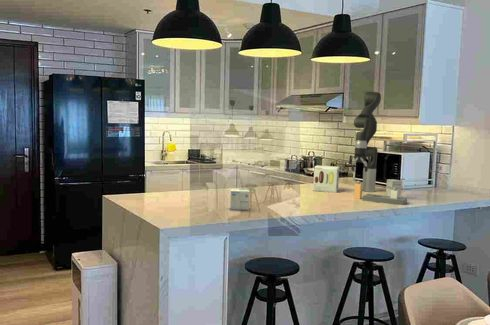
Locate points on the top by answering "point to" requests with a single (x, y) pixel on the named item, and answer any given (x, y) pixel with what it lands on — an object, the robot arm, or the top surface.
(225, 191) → the top surface
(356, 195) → the orange plug
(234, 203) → the light bulb box
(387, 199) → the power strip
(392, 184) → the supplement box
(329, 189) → the supplement box
